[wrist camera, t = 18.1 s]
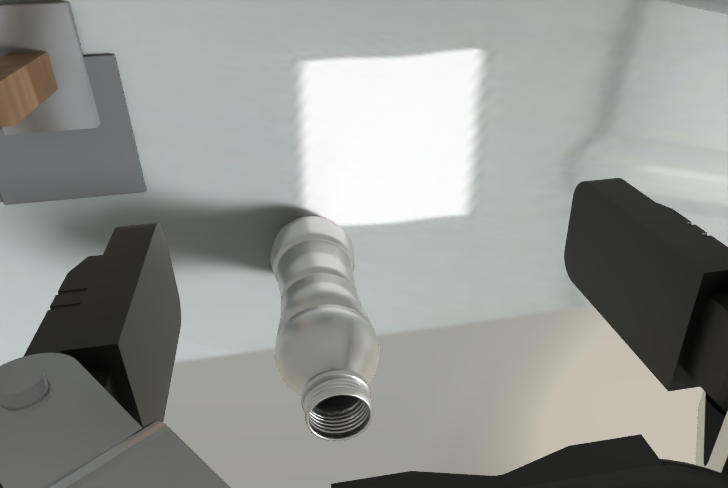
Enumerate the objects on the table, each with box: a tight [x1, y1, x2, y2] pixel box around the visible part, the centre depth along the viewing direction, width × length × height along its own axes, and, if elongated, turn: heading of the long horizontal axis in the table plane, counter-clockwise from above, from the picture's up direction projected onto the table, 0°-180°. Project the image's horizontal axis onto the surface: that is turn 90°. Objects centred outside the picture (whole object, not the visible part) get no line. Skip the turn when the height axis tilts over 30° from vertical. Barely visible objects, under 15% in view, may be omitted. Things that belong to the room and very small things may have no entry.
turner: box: [0, 1, 101, 135], centre depth 35 cm, size 6×8×9 cm
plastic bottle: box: [271, 216, 380, 441], centre depth 40 cm, size 6×7×20 cm
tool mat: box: [0, 54, 146, 205], centre depth 41 cm, size 10×10×1 cm
